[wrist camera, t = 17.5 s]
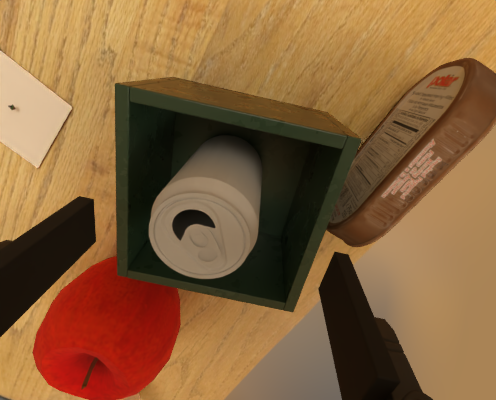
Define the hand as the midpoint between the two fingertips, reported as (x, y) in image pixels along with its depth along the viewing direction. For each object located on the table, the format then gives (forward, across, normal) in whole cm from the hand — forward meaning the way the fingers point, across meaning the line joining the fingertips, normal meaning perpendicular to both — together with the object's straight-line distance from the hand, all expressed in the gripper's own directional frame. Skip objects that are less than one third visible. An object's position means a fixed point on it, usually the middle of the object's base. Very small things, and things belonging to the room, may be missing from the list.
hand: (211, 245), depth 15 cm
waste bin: (+13, 0, 0) cm, 13 cm away
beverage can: (+12, -1, 0) cm, 12 cm away
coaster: (+13, -21, +1) cm, 25 cm away
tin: (+13, +12, +5) cm, 18 cm away
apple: (+13, -8, -15) cm, 21 cm away
